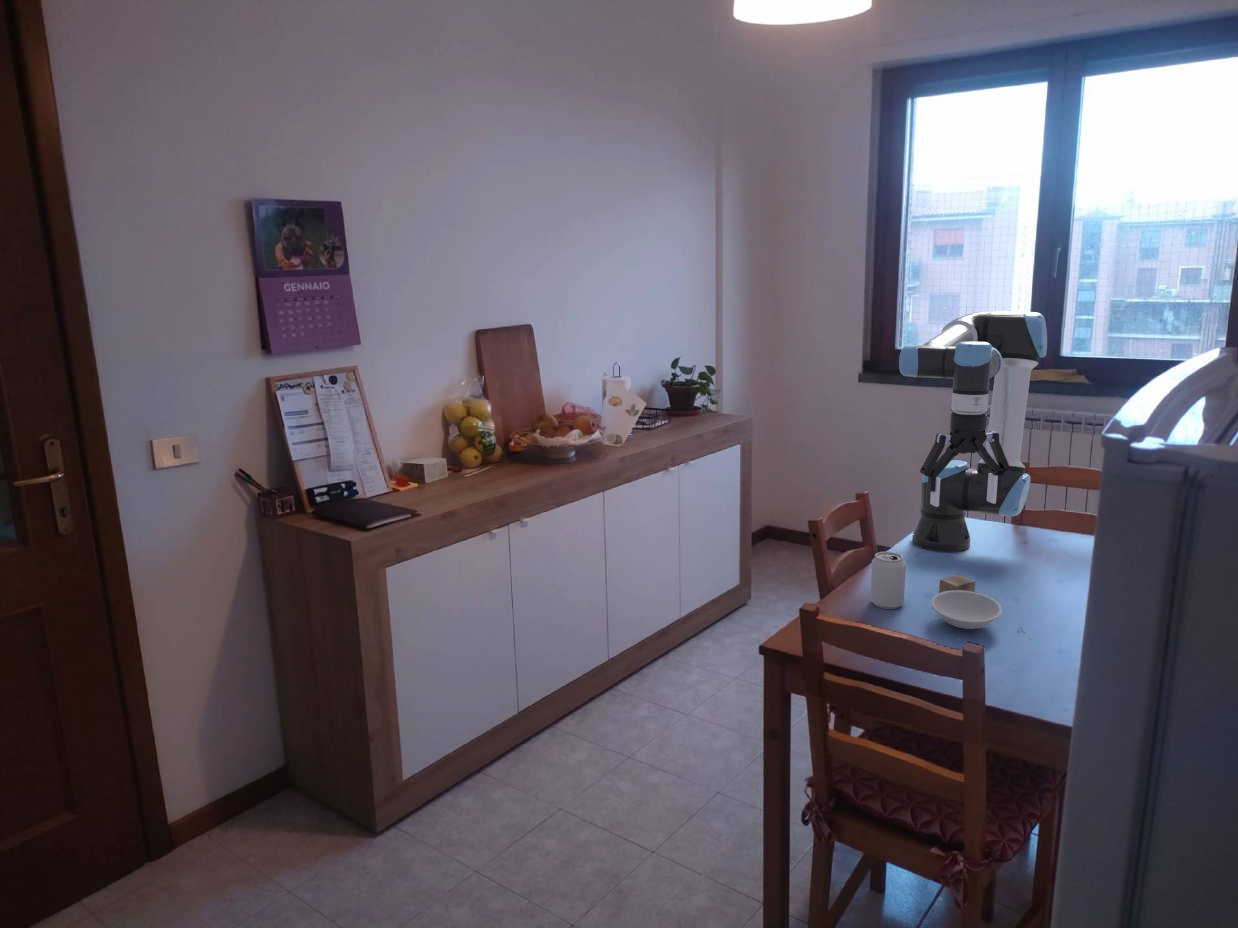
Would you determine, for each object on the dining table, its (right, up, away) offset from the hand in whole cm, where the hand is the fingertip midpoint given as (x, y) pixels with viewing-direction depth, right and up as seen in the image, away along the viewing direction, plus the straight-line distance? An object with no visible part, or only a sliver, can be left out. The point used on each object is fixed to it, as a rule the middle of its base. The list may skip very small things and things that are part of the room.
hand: (962, 503), depth 196 cm
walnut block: (+1, -22, +7) cm, 23 cm away
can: (-16, -24, +3) cm, 29 cm away
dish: (-4, -26, -10) cm, 28 cm away
